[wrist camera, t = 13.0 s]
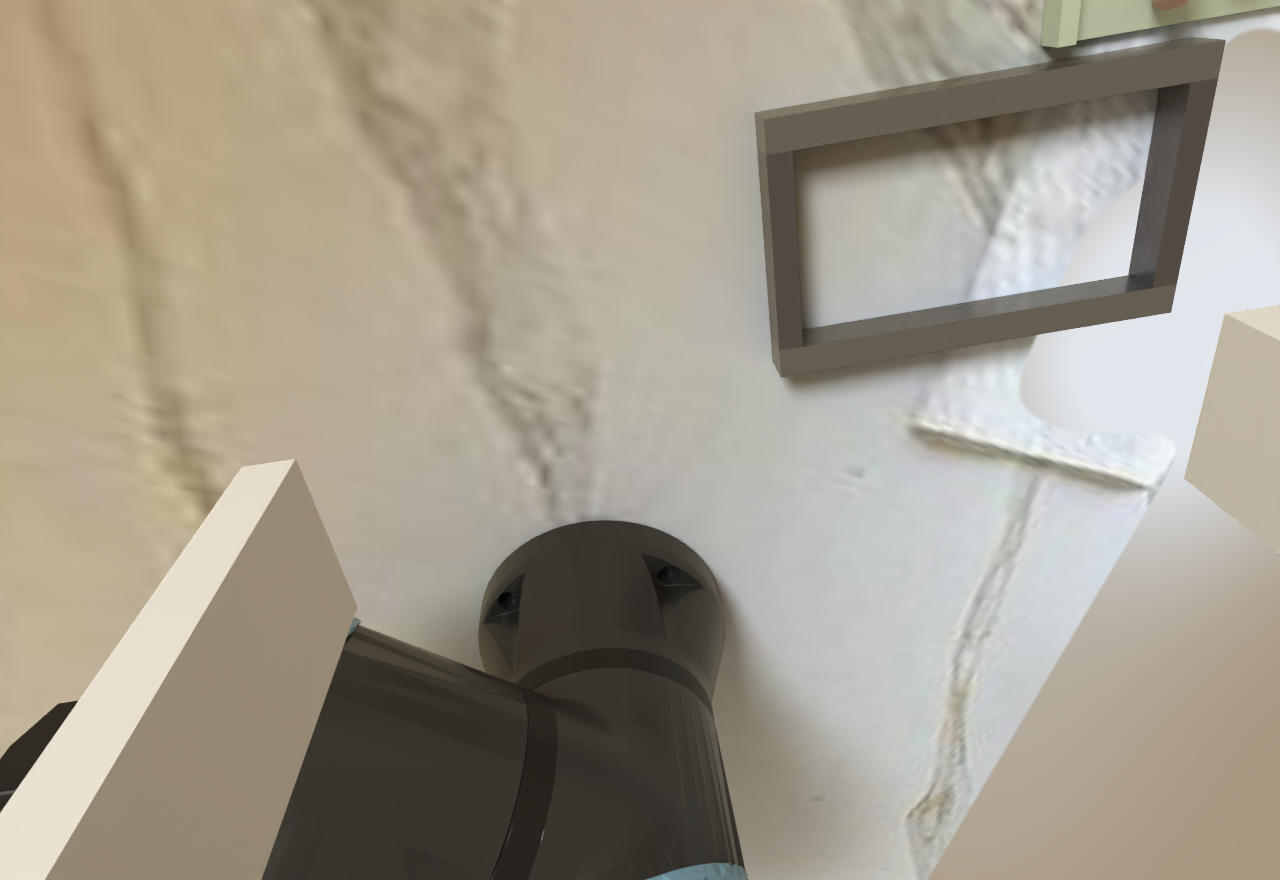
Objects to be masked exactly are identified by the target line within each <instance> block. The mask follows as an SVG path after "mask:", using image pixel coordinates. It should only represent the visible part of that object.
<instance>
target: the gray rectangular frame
mask: <svg viewBox="0 0 1280 880" xmlns="http://www.w3.org/2000/svg"><path fill="white" fill-rule="evenodd" d="M1225 41H1226V40H1220V39H1208V38H1197V37H1193V38H1187V39H1181V40H1176V41H1170V42H1164V43H1158V44H1152V45H1147V46H1141V47H1135V48H1129V49H1123V50H1117V51H1112V52H1106V53H1100V54H1094V55H1088V56H1083V57H1077V58H1071V59H1065V60H1059V61H1053V62H1048V63H1042V64H1036V65H1030V66H1024V67H1019V68H1013V69H1007V70H1001V71H995V72H989V73H984V74H978V75H972V76H966V77H960V78H955V79H949V80H943V81H937V82H931V83H925V84H920V85H914V86H908V87H902V88H896V89H891V90H885V91H879V92H873V93H867V94H862V95H856V96H850V97H844V98H838V99H832V100H827V101H821V102H815V103H809V104H803V105H798V106H792V107H786V108H780V109H774V110H768V111H763V112H757V113H755V122H756V136H757V150H758V164H759V178H760V191H761V205H762V219H763V233H764V247H765V261H766V275H767V289H768V303H769V316H770V330H771V344H772V358H773V363H774V365H775V366H776V368H777V370H778V372H779V374H780V376H781V377H785V376H791V375H797V374H803V373H809V372H815V371H821V370H827V369H833V368H839V367H845V366H851V365H857V364H863V363H869V362H875V361H882V360H888V359H894V358H900V357H906V356H912V355H918V354H924V353H930V352H936V351H942V350H948V349H954V348H960V347H966V346H972V345H978V344H984V343H990V342H996V341H1002V340H1008V339H1014V338H1020V337H1026V336H1032V335H1038V334H1044V333H1050V332H1056V331H1062V330H1068V329H1073V328H1080V327H1086V326H1092V325H1098V324H1104V323H1110V322H1116V321H1122V320H1128V319H1134V318H1139V317H1146V316H1151V315H1157V314H1164V313H1170V312H1171V310H1172V304H1173V299H1174V294H1175V289H1176V285H1177V280H1178V275H1179V269H1180V265H1181V260H1182V255H1183V250H1184V245H1185V240H1186V235H1187V230H1188V225H1189V220H1190V215H1191V210H1192V205H1193V200H1194V195H1195V190H1196V185H1197V180H1198V175H1199V170H1200V165H1201V161H1202V155H1203V151H1204V146H1205V140H1206V136H1207V130H1208V126H1209V121H1210V116H1211V111H1212V106H1213V101H1214V96H1215V91H1216V86H1217V81H1218V76H1219V70H1220V66H1221V61H1222V56H1223V51H1224V46H1225ZM1156 88H1160V91H1159V96H1158V102H1157V108H1156V114H1155V120H1154V126H1153V132H1152V138H1151V144H1150V150H1149V156H1148V162H1147V168H1146V174H1145V180H1144V186H1143V192H1142V198H1141V204H1140V209H1139V215H1138V222H1137V227H1136V233H1135V239H1134V246H1133V251H1132V257H1131V263H1130V269H1129V275H1128V276H1122V277H1116V278H1110V279H1104V280H1098V281H1093V282H1087V283H1081V284H1075V285H1069V286H1063V287H1057V288H1051V289H1045V290H1039V291H1033V292H1027V293H1021V294H1015V295H1009V296H1003V297H997V298H991V299H985V300H979V301H973V302H967V303H961V304H955V305H949V306H943V307H937V308H931V309H925V310H919V311H913V312H907V313H901V314H895V315H889V316H883V317H877V318H871V319H865V320H859V321H853V322H847V323H841V324H835V325H829V326H823V327H818V328H812V329H806V330H802V318H801V298H800V278H799V258H798V238H797V218H796V198H795V179H794V159H793V150H799V149H805V148H811V147H817V146H823V145H828V144H834V143H840V142H846V141H852V140H858V139H864V138H869V137H875V136H881V135H887V134H893V133H899V132H905V131H910V130H916V129H922V128H928V127H934V126H940V125H945V124H951V123H957V122H963V121H969V120H975V119H981V118H986V117H992V116H998V115H1004V114H1010V113H1016V112H1022V111H1027V110H1033V109H1039V108H1045V107H1051V106H1057V105H1062V104H1068V103H1074V102H1080V101H1086V100H1092V99H1098V98H1103V97H1109V96H1115V95H1121V94H1127V93H1133V92H1138V91H1144V90H1150V89H1156Z"/></svg>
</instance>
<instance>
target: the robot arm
mask: <svg viewBox="0 0 1280 880" xmlns="http://www.w3.org/2000/svg"><path fill="white" fill-rule="evenodd" d="M1184 479H1185V480H1187V481H1188V482H1189V483H1191V484H1192V485H1193V486H1194V487H1196V488H1197V489H1198V490H1200V491H1201V492H1202V493H1203V494H1204V495H1206V496H1207V497H1208V498H1210V499H1211V500H1212V501H1213V502H1214V503H1216V504H1217V505H1218V506H1219V507H1221V508H1222V509H1223V510H1224V511H1226V512H1227V513H1228V514H1229V515H1231V516H1232V517H1233V518H1234V519H1236V520H1237V521H1238V522H1239V523H1241V524H1242V525H1243V526H1244V527H1246V528H1247V529H1248V530H1249V531H1251V532H1252V533H1253V534H1254V535H1256V536H1257V537H1258V538H1260V539H1261V540H1262V541H1263V542H1264V543H1266V544H1267V545H1268V546H1269V547H1271V548H1272V549H1273V550H1275V551H1276V552H1277V553H1278V554H1280V305H1277V306H1271V307H1264V308H1258V309H1252V310H1245V311H1240V312H1232V313H1226V314H1225V316H1224V320H1223V324H1222V328H1221V332H1220V336H1219V340H1218V344H1217V348H1216V352H1215V356H1214V360H1213V364H1212V368H1211V372H1210V376H1209V381H1208V384H1207V388H1206V393H1205V397H1204V401H1203V405H1202V409H1201V413H1200V417H1199V421H1198V425H1197V429H1196V433H1195V437H1194V441H1193V445H1192V449H1191V453H1190V457H1189V461H1188V465H1187V469H1186V474H1185V478H1184ZM356 609H357V605H356V602H355V600H354V598H353V595H352V593H351V590H350V588H349V586H348V583H347V581H346V578H345V576H344V574H343V571H342V569H341V566H340V564H339V562H338V559H337V557H336V554H335V552H334V550H333V547H332V545H331V542H330V540H329V538H328V535H327V533H326V530H325V528H324V526H323V523H322V521H321V518H320V516H319V514H318V511H317V509H316V506H315V504H314V502H313V499H312V497H311V494H310V492H309V490H308V487H307V485H306V482H305V480H304V478H303V475H302V473H301V470H300V468H299V466H298V463H297V461H296V459H291V460H285V461H278V462H272V463H265V464H259V465H253V466H246V467H241V469H240V470H239V472H238V473H237V475H236V476H235V478H234V479H233V480H232V482H231V483H230V485H229V486H228V488H227V489H226V490H225V492H224V493H223V495H222V496H221V498H220V499H219V500H218V502H217V503H216V505H215V506H214V508H213V509H212V510H211V512H210V513H209V515H208V516H207V518H206V519H205V520H204V522H203V523H202V525H201V526H200V528H199V529H198V530H197V532H196V533H195V535H194V536H193V538H192V539H191V541H190V542H189V543H188V545H187V546H186V548H185V549H184V551H183V552H182V553H181V555H180V556H179V558H178V559H177V561H176V562H175V563H174V565H173V566H172V568H171V569H170V571H169V572H168V573H167V575H166V576H165V578H164V579H163V581H162V582H161V583H160V585H159V586H158V588H157V589H156V591H155V592H154V593H153V595H152V596H151V598H150V599H149V601H148V602H147V604H146V605H145V606H144V608H143V609H142V611H141V612H140V614H139V615H138V616H137V618H136V619H135V621H134V622H133V624H132V625H131V626H130V628H129V629H128V631H127V632H126V634H125V635H124V636H123V638H122V639H121V641H120V642H119V644H118V645H117V646H116V648H115V649H114V651H113V652H112V654H111V655H110V656H109V658H108V659H107V661H106V662H105V664H104V665H103V666H102V668H101V669H100V671H99V672H98V674H97V675H96V677H95V678H94V679H93V681H92V682H91V684H90V685H89V687H88V688H87V689H86V691H85V692H84V694H83V695H82V697H81V698H80V699H79V701H73V702H66V703H60V704H58V705H56V706H55V707H54V708H53V709H52V710H51V711H50V712H48V713H47V714H46V715H45V716H44V717H43V718H42V719H40V720H39V721H38V722H37V723H36V724H35V725H34V726H33V727H31V728H30V729H29V730H28V731H27V732H26V733H25V734H23V735H22V736H21V737H20V738H19V739H18V740H17V741H15V742H14V743H13V744H12V745H11V746H10V747H9V748H8V750H7V751H6V752H5V754H4V755H3V756H2V758H1V759H0V880H748V878H747V875H748V874H746V872H745V867H744V862H743V857H742V852H741V847H740V843H739V838H738V833H737V828H736V823H735V818H734V814H733V809H732V804H731V799H730V794H729V789H728V784H727V780H726V775H725V770H724V765H723V760H722V755H721V751H720V746H719V741H718V736H717V731H716V727H715V723H714V717H713V711H712V705H711V703H712V698H713V693H714V689H715V684H716V679H717V674H718V670H719V665H720V660H721V656H722V651H723V646H724V640H725V619H724V613H723V609H722V604H721V600H720V595H719V591H718V588H717V585H716V582H715V580H714V577H713V575H712V574H711V572H710V570H709V569H708V567H707V566H706V564H705V563H704V562H703V560H702V559H701V558H700V557H699V556H698V555H697V554H696V553H695V552H694V551H693V550H692V549H690V548H689V547H688V546H687V545H685V544H684V543H682V542H681V541H679V540H678V539H676V538H674V537H672V536H671V535H668V534H666V533H664V532H662V531H659V530H657V529H654V528H651V527H648V526H644V525H640V524H636V523H630V522H622V521H588V522H581V523H575V524H570V525H566V526H563V527H559V528H556V529H553V530H551V531H548V532H546V533H543V534H541V535H539V536H537V537H535V538H533V539H531V540H530V541H528V542H526V543H525V544H523V545H522V546H520V547H519V548H518V549H517V550H515V551H514V552H513V553H512V554H511V555H509V556H508V557H507V558H506V559H505V560H504V562H503V563H502V564H501V565H500V566H499V567H498V569H497V570H496V572H495V573H494V575H493V576H492V578H491V580H490V582H489V584H488V586H487V588H486V591H485V594H484V598H483V602H482V608H481V615H480V622H479V630H478V639H479V650H480V655H481V659H482V662H483V666H484V669H485V672H486V673H484V672H481V671H479V670H476V669H473V668H471V667H468V666H466V665H463V664H460V663H458V662H455V661H452V660H450V659H447V658H445V657H442V656H439V655H437V654H434V653H431V652H429V651H426V650H424V649H421V648H418V647H416V646H413V645H410V644H408V643H405V642H403V641H400V640H397V639H395V638H392V637H389V636H387V635H384V634H382V633H379V632H376V631H374V630H371V629H368V628H366V627H363V626H361V625H359V624H360V623H361V621H360V620H359V619H357V618H354V615H355V612H356Z"/></svg>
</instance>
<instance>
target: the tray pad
mask: <svg viewBox="0 0 1280 880" xmlns="http://www.w3.org/2000/svg"><path fill="white" fill-rule="evenodd" d="M1276 6H1280V0H1190V1H1189V2H1187V3H1185V4H1184V5H1182V6H1180V7H1177V8H1174V9H1171V10H1159V9H1157V8H1156V7H1155V6H1154V5H1153V2H1152V0H1046V2H1045V12H1044V23H1043V33H1042V44H1041V46H1048V47H1056V48H1059V47H1065V46H1071V45H1076V42H1077V41H1079V40H1085V39H1091V38H1096V37H1102V36H1108V35H1114V34H1120V33H1125V32H1131V31H1137V30H1143V29H1149V28H1154V27H1160V26H1166V25H1172V24H1178V23H1183V22H1189V21H1195V20H1201V19H1207V18H1212V17H1218V16H1224V15H1230V14H1236V13H1241V12H1247V11H1253V10H1259V9H1265V8H1271V7H1276Z"/></svg>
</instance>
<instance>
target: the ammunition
mask: <svg viewBox="0 0 1280 880" xmlns="http://www.w3.org/2000/svg"><path fill="white" fill-rule="evenodd" d="M1189 1H1190V0H1152V2H1153V5H1154V6H1155V7H1156V8H1157V9H1159V10H1171V9H1174V8H1177V7H1180V6H1182V5H1184V4H1185V3H1187V2H1189Z"/></svg>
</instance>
